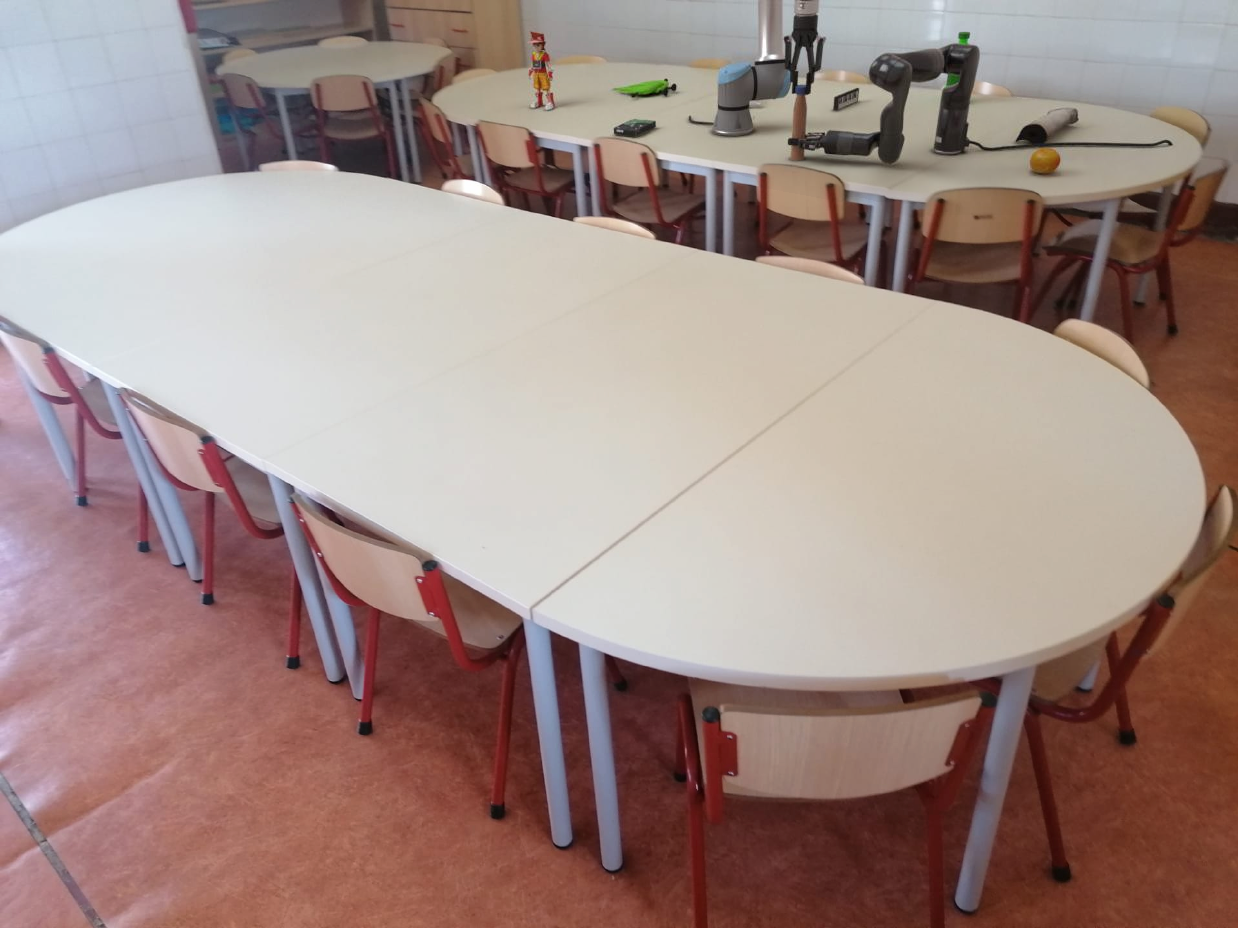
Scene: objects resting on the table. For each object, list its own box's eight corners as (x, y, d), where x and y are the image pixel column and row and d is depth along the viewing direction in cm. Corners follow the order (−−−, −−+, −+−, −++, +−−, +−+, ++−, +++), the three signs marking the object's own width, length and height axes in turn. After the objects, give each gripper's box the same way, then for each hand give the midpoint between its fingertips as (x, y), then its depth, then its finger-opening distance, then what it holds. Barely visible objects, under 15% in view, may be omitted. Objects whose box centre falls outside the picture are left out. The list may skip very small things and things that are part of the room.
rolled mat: (1045, 112, 323) (1070, 95, 315) (1059, 134, 324) (1084, 117, 315) (1011, 136, 306) (1036, 118, 298) (1025, 158, 306) (1051, 141, 298)
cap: (809, 92, 293) (810, 85, 291) (804, 95, 290) (804, 88, 289) (798, 91, 295) (798, 84, 294) (792, 94, 292) (793, 87, 291)
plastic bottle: (973, 101, 354) (984, 32, 339) (955, 106, 349) (966, 36, 335) (952, 97, 361) (962, 29, 346) (934, 102, 356) (944, 33, 342)
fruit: (1025, 163, 276) (1043, 140, 272) (1023, 166, 283) (1041, 143, 280) (1048, 179, 274) (1067, 155, 271) (1046, 181, 282) (1064, 158, 279)
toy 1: (525, 109, 381) (517, 32, 364) (534, 104, 388) (527, 28, 371) (550, 110, 377) (543, 32, 360) (559, 105, 384) (553, 28, 367)
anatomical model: (728, 79, 370) (752, 73, 369) (732, 105, 376) (756, 98, 375) (735, 87, 358) (759, 81, 357) (739, 114, 364) (763, 107, 363)
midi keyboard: (835, 110, 353) (837, 97, 350) (833, 110, 354) (834, 97, 351) (858, 101, 363) (859, 88, 361) (855, 101, 364) (856, 88, 361)
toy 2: (686, 85, 398) (631, 84, 414) (685, 72, 395) (629, 72, 411) (651, 104, 381) (596, 103, 397) (650, 92, 378) (594, 91, 394)
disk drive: (636, 138, 336) (656, 127, 346) (636, 130, 334) (656, 120, 344) (613, 135, 340) (633, 125, 351) (613, 128, 339) (633, 118, 349)
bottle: (806, 159, 303) (810, 89, 290) (794, 161, 302) (798, 90, 289) (799, 156, 307) (804, 86, 294) (788, 158, 306) (792, 88, 293)
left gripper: (775, 15, 280) (772, 94, 294) (827, 17, 273) (821, 98, 286) (785, 11, 286) (781, 89, 299) (836, 13, 278) (830, 93, 291)
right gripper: (847, 125, 298) (797, 122, 305) (836, 137, 288) (784, 133, 295) (844, 148, 303) (795, 145, 309) (834, 160, 292) (783, 156, 299)
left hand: (801, 93), depth 292 cm, fingers closed on cap, 4 cm apart
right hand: (790, 139), depth 302 cm, fingers closed on bottle, 4 cm apart
